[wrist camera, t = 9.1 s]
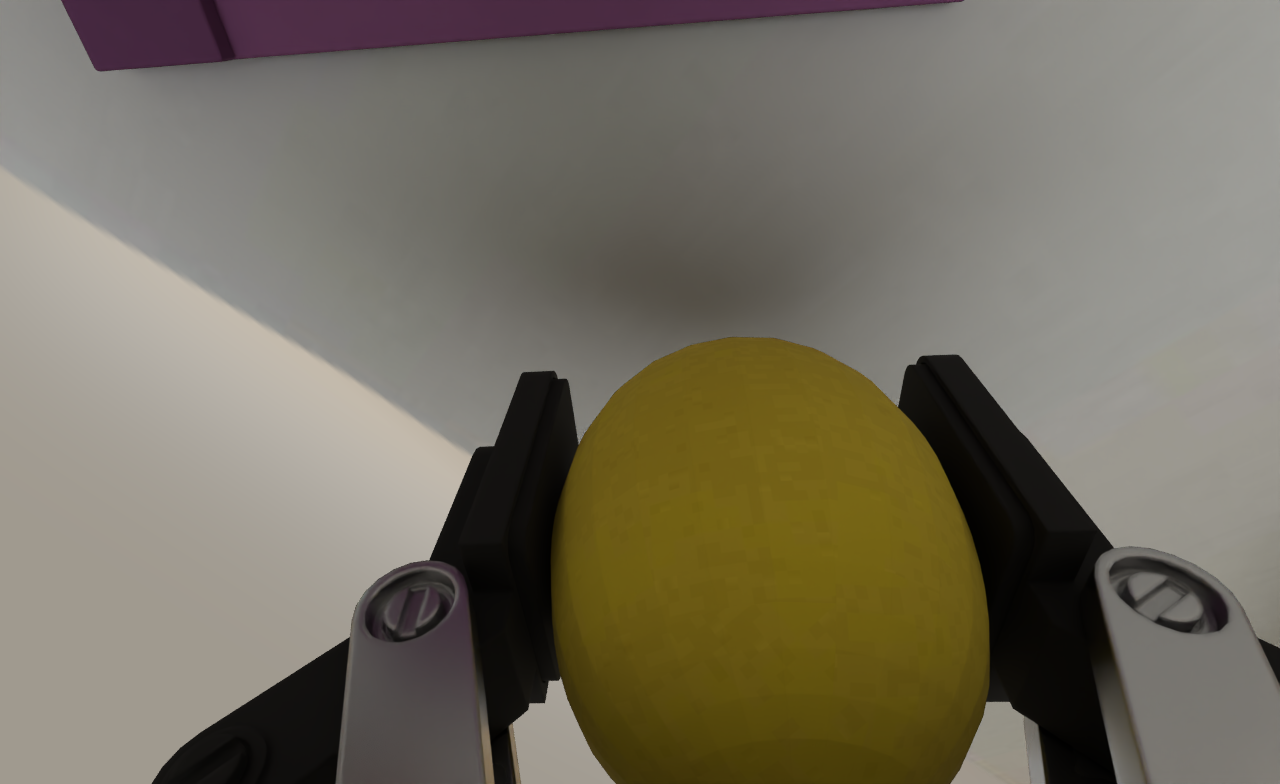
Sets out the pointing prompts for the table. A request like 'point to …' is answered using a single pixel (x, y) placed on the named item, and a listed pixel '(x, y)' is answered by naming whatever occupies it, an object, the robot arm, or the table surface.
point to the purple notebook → (377, 23)
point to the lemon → (766, 579)
